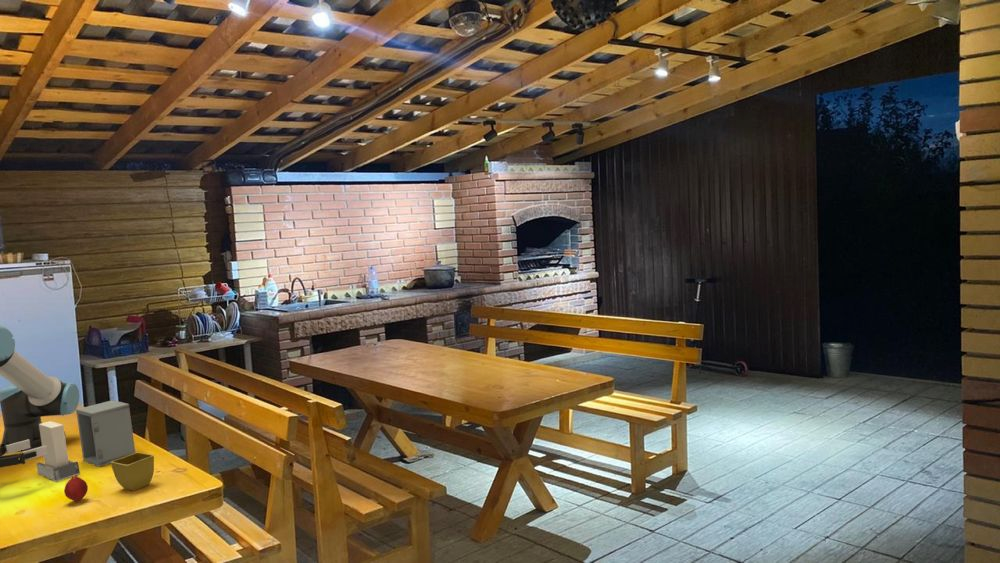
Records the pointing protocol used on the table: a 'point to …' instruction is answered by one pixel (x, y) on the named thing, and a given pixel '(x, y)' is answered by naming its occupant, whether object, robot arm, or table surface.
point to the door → (54, 444)
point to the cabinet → (105, 432)
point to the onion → (75, 488)
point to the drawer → (58, 471)
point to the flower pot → (134, 470)
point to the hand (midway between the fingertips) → (38, 446)
